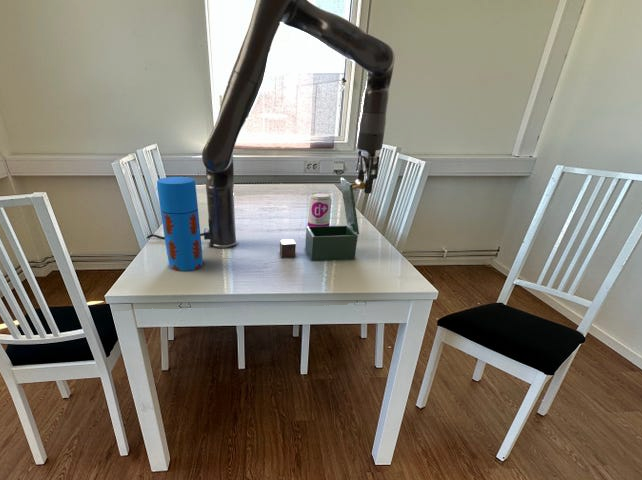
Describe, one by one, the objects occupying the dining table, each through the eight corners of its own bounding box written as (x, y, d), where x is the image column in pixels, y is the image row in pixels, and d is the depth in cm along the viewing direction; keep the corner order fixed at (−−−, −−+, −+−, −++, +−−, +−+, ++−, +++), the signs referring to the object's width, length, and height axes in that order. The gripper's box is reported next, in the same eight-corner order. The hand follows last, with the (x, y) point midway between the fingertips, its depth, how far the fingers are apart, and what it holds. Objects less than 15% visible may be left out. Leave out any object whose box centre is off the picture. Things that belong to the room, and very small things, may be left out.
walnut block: (281, 257, 131) (281, 244, 129) (279, 253, 135) (280, 239, 132) (295, 257, 132) (295, 243, 129) (293, 252, 136) (293, 239, 133)
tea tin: (311, 260, 129) (313, 237, 125) (305, 248, 139) (306, 226, 134) (354, 259, 131) (357, 235, 126) (345, 247, 140) (348, 225, 136)
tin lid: (349, 185, 117) (367, 179, 117) (339, 177, 127) (356, 172, 126) (356, 234, 126) (373, 229, 126) (347, 224, 136) (362, 219, 135)
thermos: (187, 273, 120) (176, 185, 105) (161, 266, 124) (148, 181, 110) (210, 262, 127) (202, 179, 113) (185, 256, 132) (175, 175, 118)
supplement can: (327, 240, 147) (331, 197, 138) (305, 238, 148) (307, 196, 140) (329, 233, 153) (332, 192, 145) (308, 232, 155) (310, 191, 146)
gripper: (352, 128, 120) (345, 185, 129) (366, 133, 109) (358, 195, 118) (375, 128, 121) (368, 185, 130) (392, 133, 109) (382, 195, 119)
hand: (363, 190), depth 124 cm, fingers open, 8 cm apart
